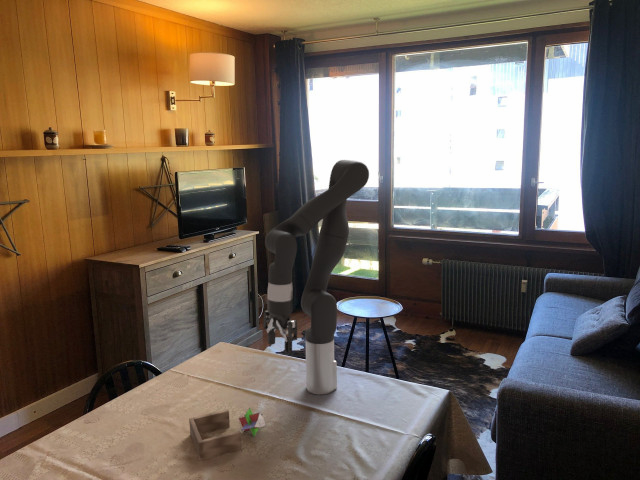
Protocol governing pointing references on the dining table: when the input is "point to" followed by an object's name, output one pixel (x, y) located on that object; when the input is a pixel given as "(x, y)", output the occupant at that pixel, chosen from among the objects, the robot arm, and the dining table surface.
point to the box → (214, 444)
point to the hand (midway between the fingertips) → (279, 348)
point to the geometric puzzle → (252, 422)
